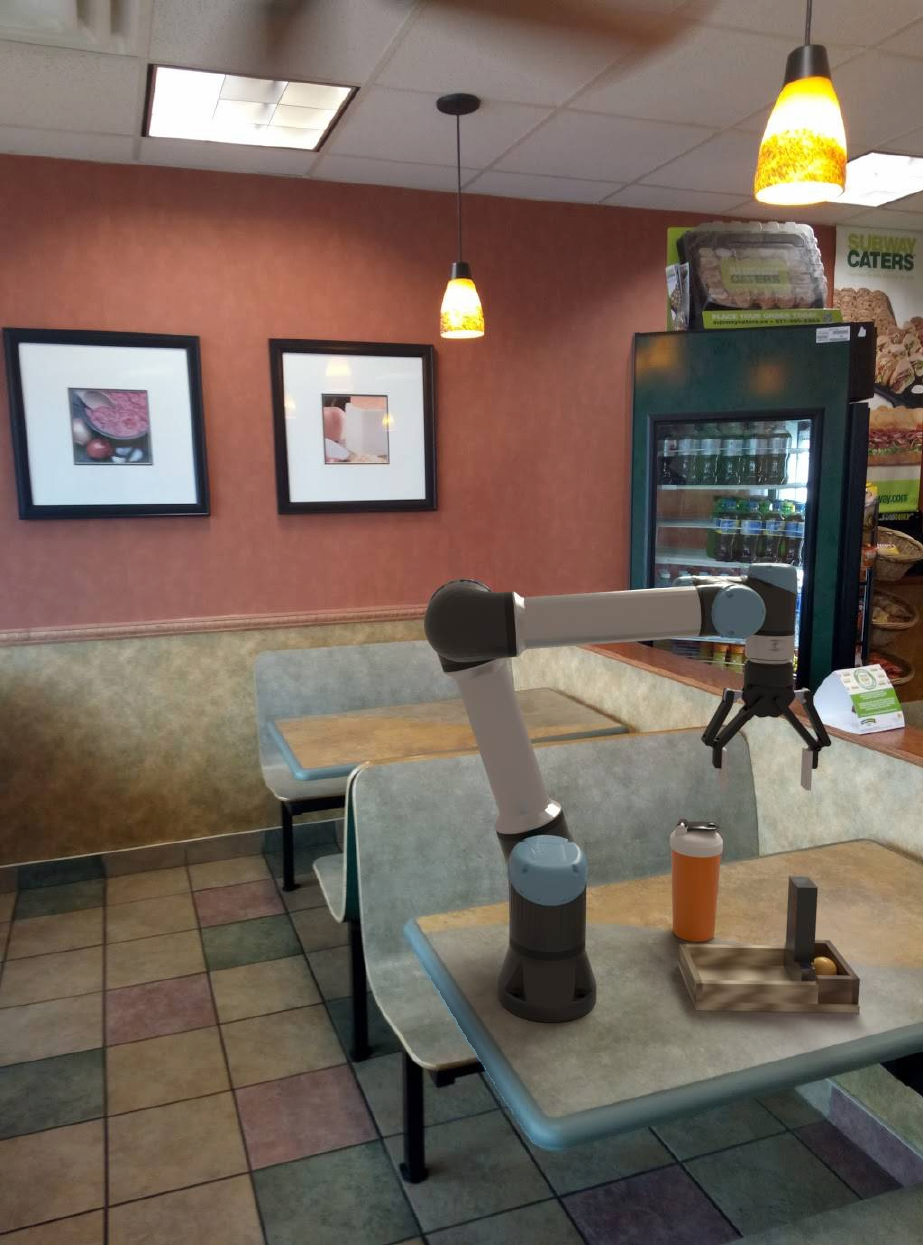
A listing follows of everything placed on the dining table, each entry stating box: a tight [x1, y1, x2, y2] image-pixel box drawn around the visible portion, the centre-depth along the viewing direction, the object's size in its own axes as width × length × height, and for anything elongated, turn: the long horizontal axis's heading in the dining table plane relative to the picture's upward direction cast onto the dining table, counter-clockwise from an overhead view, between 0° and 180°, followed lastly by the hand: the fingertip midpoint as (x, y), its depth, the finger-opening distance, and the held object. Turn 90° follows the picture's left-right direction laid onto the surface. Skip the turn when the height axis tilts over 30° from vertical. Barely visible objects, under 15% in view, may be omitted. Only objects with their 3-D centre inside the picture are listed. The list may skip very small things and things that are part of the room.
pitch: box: [677, 939, 861, 1014], centre depth 140 cm, size 24×13×5 cm, turn 88°
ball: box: [811, 957, 837, 981], centre depth 139 cm, size 4×4×4 cm
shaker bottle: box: [669, 817, 724, 943], centre depth 157 cm, size 9×9×20 cm
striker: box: [784, 876, 819, 981], centre depth 138 cm, size 3×8×16 cm, turn 178°
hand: (763, 787), depth 147 cm, fingers open, 13 cm apart
